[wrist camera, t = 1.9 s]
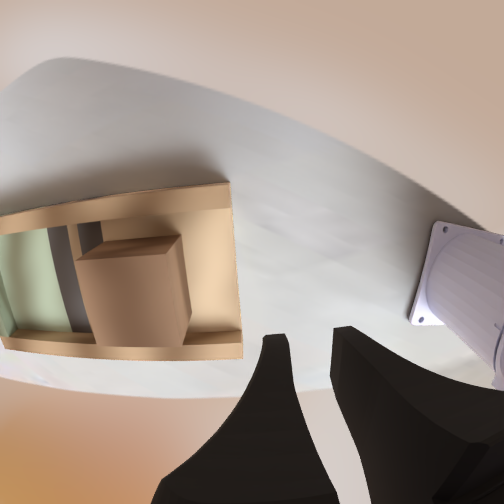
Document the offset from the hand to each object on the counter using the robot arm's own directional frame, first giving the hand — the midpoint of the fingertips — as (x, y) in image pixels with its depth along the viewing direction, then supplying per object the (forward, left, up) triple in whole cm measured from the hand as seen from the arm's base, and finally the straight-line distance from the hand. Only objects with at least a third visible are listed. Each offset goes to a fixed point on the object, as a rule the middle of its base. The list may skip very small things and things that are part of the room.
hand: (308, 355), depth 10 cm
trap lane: (+12, +2, -10) cm, 16 cm away
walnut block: (+8, +1, -9) cm, 12 cm away
